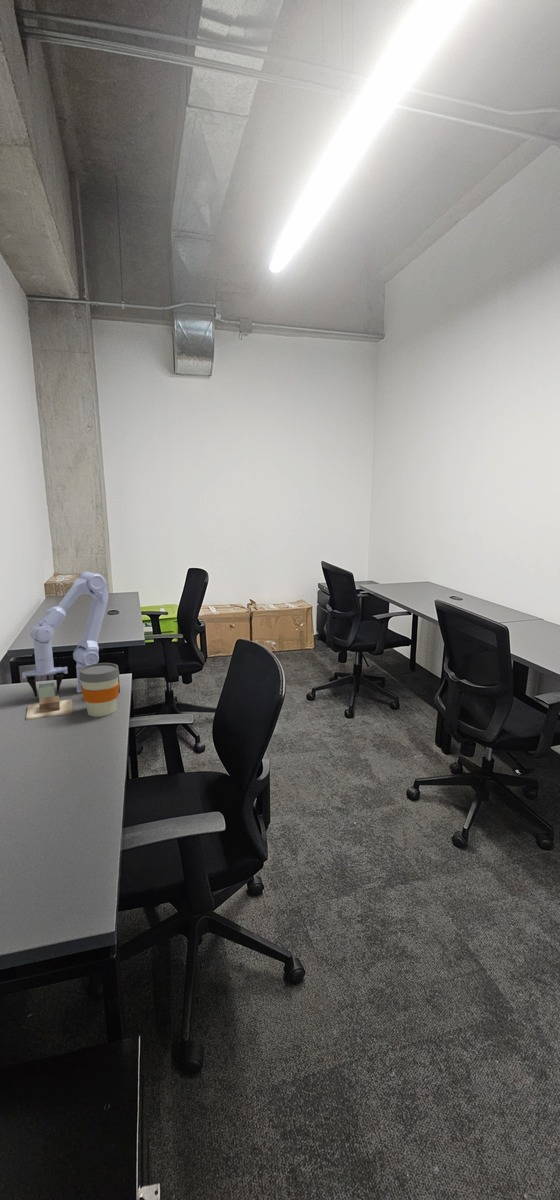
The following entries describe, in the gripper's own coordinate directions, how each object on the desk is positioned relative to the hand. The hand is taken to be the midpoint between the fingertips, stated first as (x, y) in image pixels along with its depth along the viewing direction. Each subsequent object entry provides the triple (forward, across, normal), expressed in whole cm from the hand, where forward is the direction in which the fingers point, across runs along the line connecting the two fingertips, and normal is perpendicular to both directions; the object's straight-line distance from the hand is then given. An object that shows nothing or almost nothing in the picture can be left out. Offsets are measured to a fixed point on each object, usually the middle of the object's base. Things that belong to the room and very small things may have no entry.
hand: (47, 694), depth 181 cm
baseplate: (+1, -1, +12) cm, 12 cm away
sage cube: (+2, 0, 0) cm, 2 cm away
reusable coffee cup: (+2, -17, +20) cm, 26 cm away
